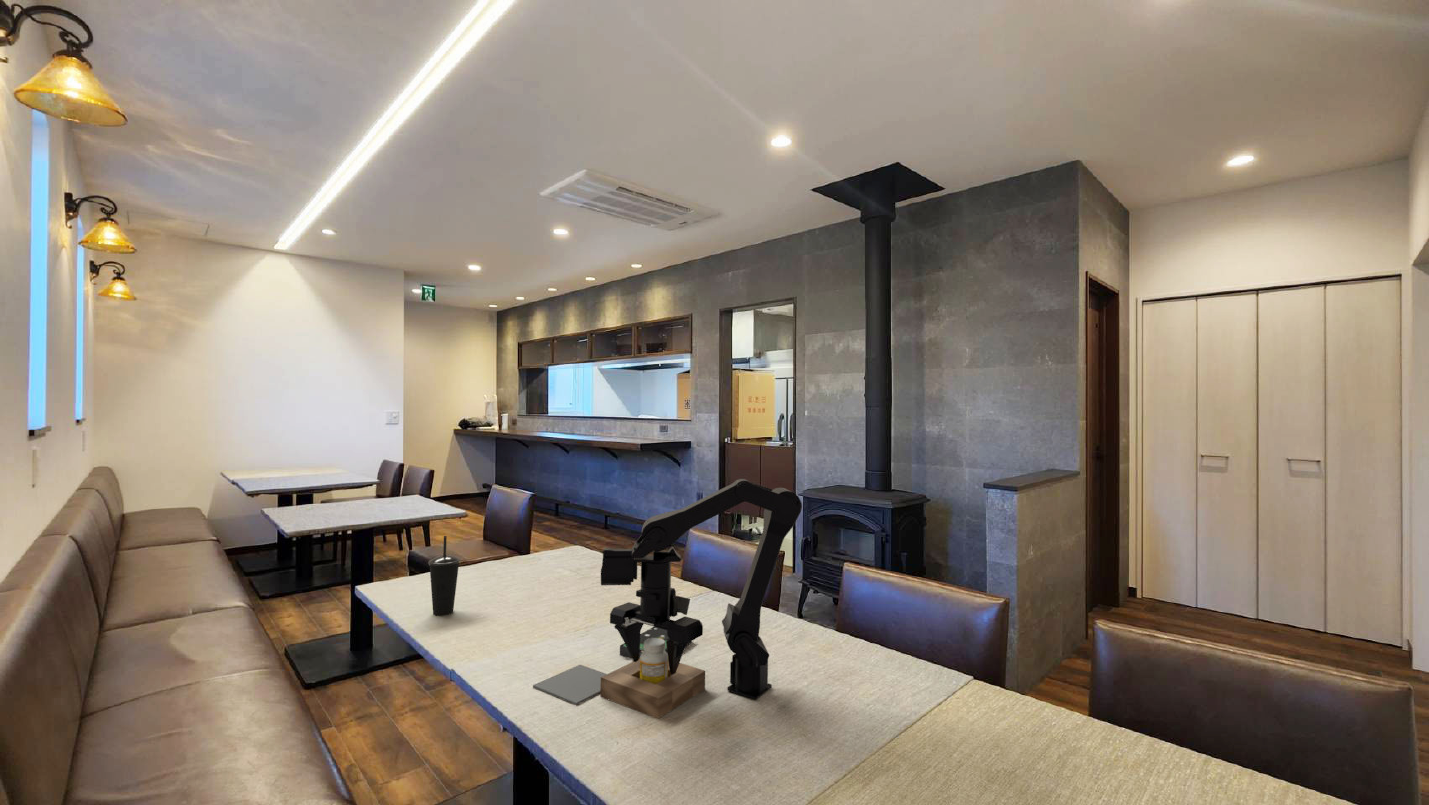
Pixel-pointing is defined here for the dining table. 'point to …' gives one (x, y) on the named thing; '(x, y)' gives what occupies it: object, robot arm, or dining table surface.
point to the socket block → (652, 688)
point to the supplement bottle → (654, 661)
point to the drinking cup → (443, 582)
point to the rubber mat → (573, 684)
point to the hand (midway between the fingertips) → (654, 667)
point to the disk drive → (648, 634)
